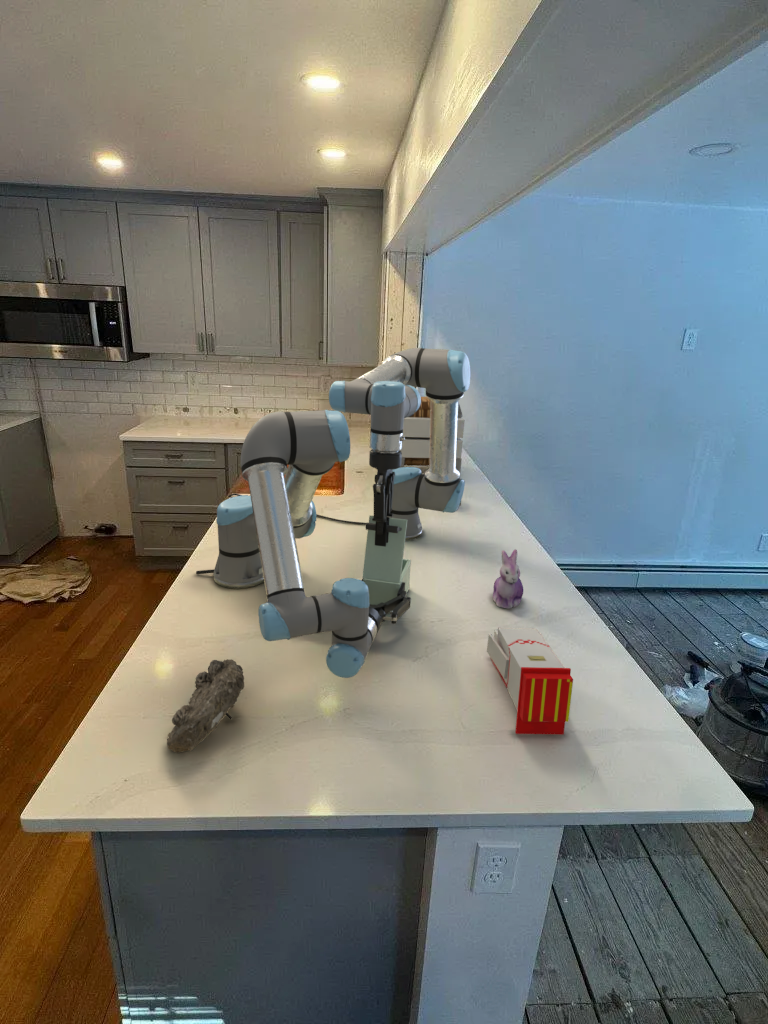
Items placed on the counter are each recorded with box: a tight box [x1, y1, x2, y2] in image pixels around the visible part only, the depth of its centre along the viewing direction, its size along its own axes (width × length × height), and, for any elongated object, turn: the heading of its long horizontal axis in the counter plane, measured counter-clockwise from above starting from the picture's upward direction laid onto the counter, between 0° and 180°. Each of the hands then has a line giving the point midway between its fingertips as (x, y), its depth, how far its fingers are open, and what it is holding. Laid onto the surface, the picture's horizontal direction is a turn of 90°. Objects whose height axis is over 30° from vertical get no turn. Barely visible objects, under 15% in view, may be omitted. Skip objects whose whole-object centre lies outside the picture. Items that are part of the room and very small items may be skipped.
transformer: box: [400, 396, 465, 475], centre depth 268 cm, size 34×33×41 cm
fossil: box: [166, 658, 245, 754], centre depth 106 cm, size 22×10×15 cm
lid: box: [361, 515, 407, 583], centre depth 141 cm, size 16×10×8 cm
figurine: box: [492, 548, 524, 609], centre depth 154 cm, size 9×10×15 cm
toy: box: [486, 627, 574, 736], centre depth 118 cm, size 12×13×30 cm
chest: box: [362, 558, 412, 614], centre depth 153 cm, size 15×10×9 cm, turn 167°
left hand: (384, 584), depth 149 cm, fingers closed on chest, 10 cm apart
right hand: (381, 543), depth 139 cm, fingers closed on lid, 2 cm apart
